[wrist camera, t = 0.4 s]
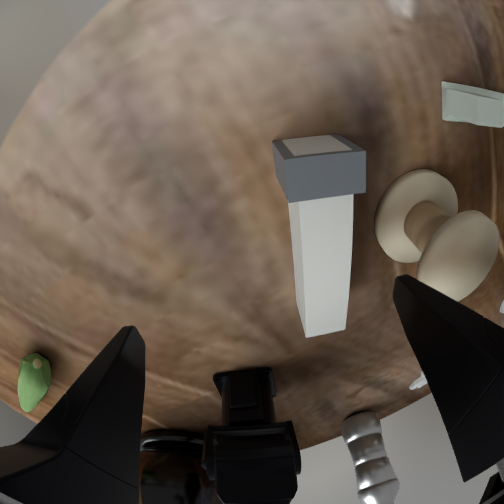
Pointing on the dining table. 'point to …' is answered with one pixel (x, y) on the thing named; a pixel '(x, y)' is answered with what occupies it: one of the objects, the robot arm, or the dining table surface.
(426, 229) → the bobbin
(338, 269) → the mallet
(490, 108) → the notched board
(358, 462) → the plastic bottle
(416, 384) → the acanthus leaf ornament
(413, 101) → the dining table surface
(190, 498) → the amphora vase
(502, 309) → the chalice
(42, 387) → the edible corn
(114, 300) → the dining table surface
